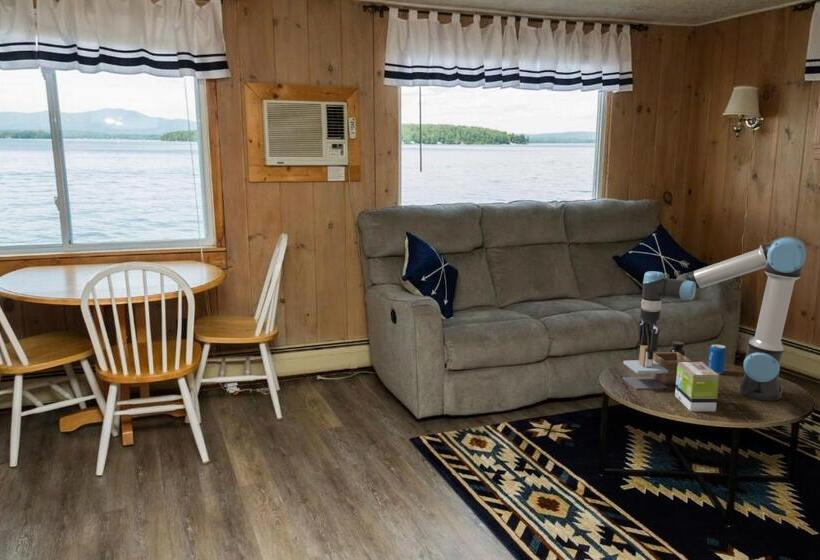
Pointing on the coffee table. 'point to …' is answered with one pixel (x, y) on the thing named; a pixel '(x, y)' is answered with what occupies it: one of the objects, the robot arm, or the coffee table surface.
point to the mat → (644, 382)
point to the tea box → (697, 386)
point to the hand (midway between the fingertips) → (645, 364)
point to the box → (668, 366)
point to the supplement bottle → (678, 348)
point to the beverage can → (717, 358)
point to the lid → (639, 364)
